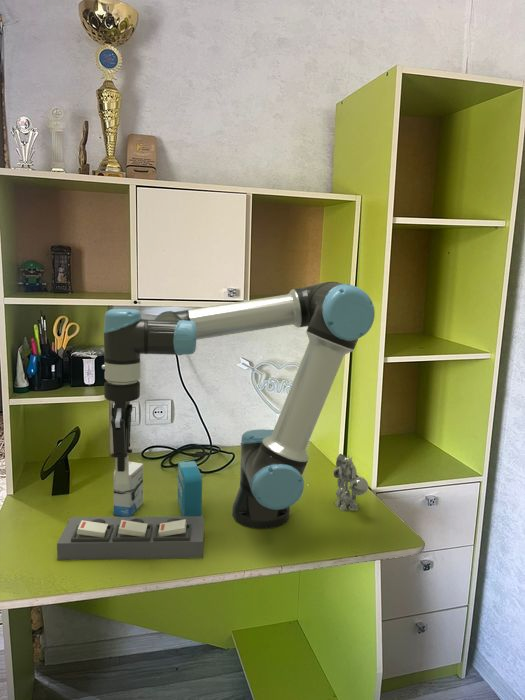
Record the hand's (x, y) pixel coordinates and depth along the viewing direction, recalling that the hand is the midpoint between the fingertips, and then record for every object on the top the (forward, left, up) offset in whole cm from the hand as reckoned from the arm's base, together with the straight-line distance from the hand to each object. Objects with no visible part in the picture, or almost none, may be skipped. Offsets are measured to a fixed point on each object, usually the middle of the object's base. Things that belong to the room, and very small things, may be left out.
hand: (121, 482), depth 124 cm
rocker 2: (-11, 0, -11) cm, 16 cm away
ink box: (+2, -21, -17) cm, 27 cm away
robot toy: (-58, -20, -17) cm, 63 cm away
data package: (-14, -20, -17) cm, 30 cm away
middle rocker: (-2, 0, -11) cm, 11 cm away
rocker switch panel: (-2, -3, -17) cm, 17 cm away
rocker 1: (+7, 0, -11) cm, 13 cm away
